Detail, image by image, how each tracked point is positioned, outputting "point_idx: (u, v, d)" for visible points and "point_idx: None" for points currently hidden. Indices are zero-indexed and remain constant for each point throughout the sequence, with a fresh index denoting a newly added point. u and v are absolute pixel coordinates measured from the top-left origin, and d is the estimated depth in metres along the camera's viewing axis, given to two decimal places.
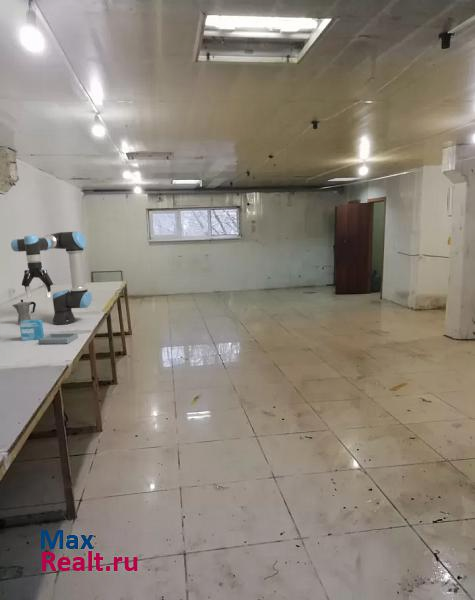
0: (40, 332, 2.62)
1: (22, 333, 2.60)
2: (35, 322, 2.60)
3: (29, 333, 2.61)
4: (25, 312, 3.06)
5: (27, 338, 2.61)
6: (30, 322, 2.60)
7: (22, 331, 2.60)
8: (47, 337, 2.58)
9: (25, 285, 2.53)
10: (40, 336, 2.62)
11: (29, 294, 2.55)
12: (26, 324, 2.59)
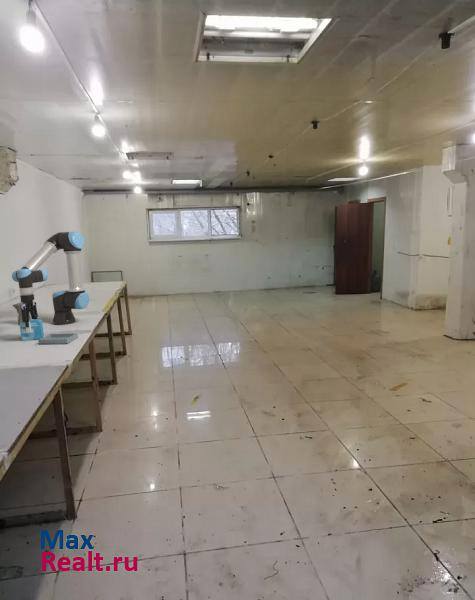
0: (40, 332, 2.62)
1: (22, 333, 2.60)
2: (35, 322, 2.60)
3: (28, 333, 2.61)
4: None
5: (27, 338, 2.61)
6: (30, 322, 2.60)
7: (22, 331, 2.60)
8: (47, 337, 2.58)
9: (32, 317, 2.66)
10: (40, 336, 2.62)
11: None
12: None
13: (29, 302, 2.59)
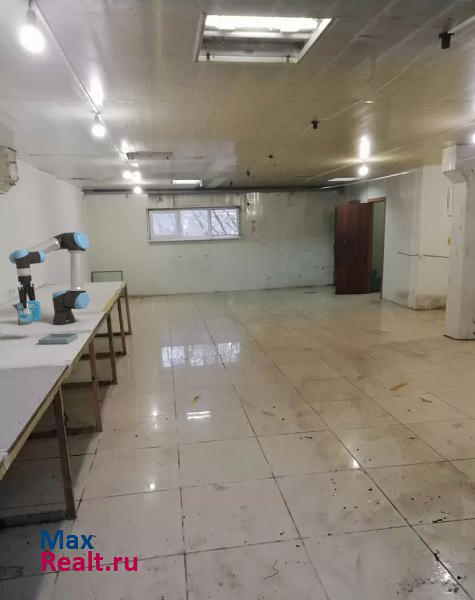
0: (38, 313, 2.60)
1: (20, 314, 2.58)
2: (33, 303, 2.58)
3: (26, 314, 2.59)
4: None
5: (25, 320, 2.59)
6: None
7: (20, 312, 2.58)
8: (47, 337, 2.58)
9: None
10: (38, 317, 2.60)
11: None
12: None
13: (26, 283, 2.57)
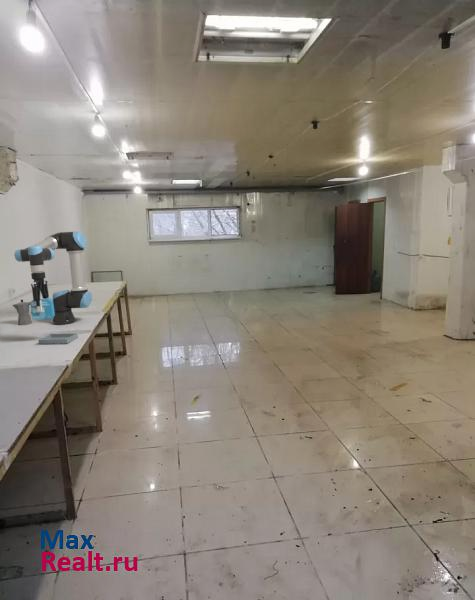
0: (51, 311, 2.55)
1: (33, 312, 2.53)
2: (46, 301, 2.53)
3: (39, 312, 2.54)
4: (25, 312, 3.06)
5: (38, 318, 2.54)
6: (41, 301, 2.53)
7: (33, 310, 2.53)
8: (47, 337, 2.58)
9: (43, 297, 2.59)
10: (51, 315, 2.55)
11: None
12: None
13: (40, 280, 2.52)
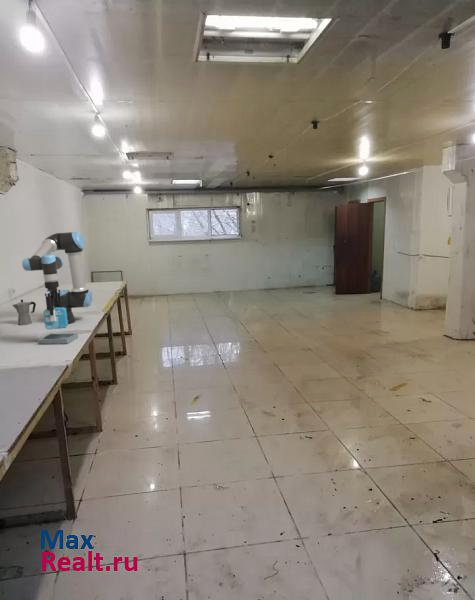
0: (64, 321, 2.52)
1: (46, 321, 2.51)
2: (59, 310, 2.51)
3: (53, 321, 2.51)
4: (25, 312, 3.06)
5: (51, 327, 2.52)
6: None
7: (46, 319, 2.51)
8: (47, 337, 2.58)
9: (55, 306, 2.56)
10: (64, 325, 2.53)
11: None
12: None
13: (53, 289, 2.50)
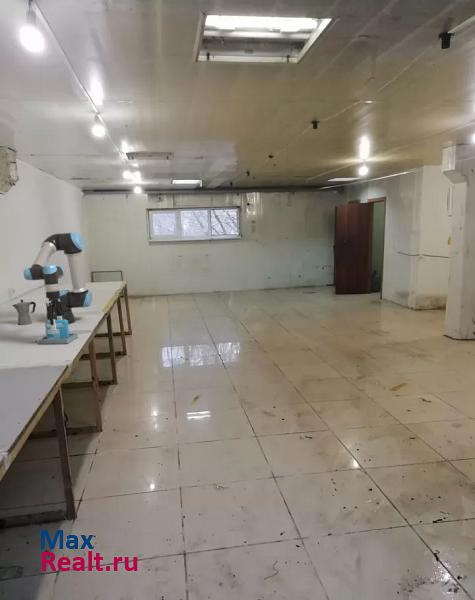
0: (66, 333, 2.54)
1: (48, 333, 2.52)
2: (61, 322, 2.52)
3: (54, 333, 2.53)
4: (25, 312, 3.06)
5: None
6: (56, 322, 2.52)
7: (48, 331, 2.52)
8: None
9: (57, 314, 2.58)
10: (66, 337, 2.54)
11: None
12: None
13: (55, 299, 2.51)
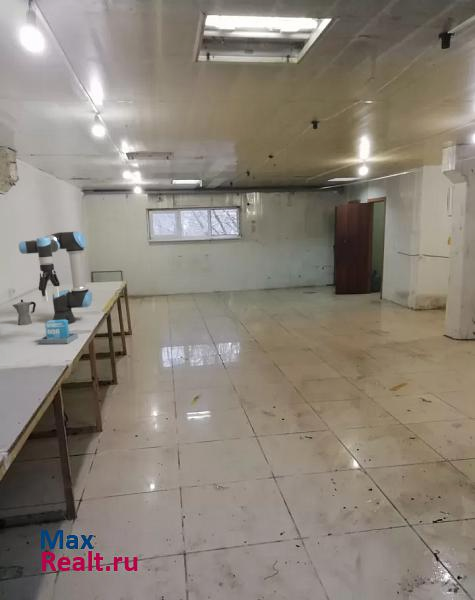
0: (66, 333, 2.54)
1: (48, 333, 2.52)
2: (61, 322, 2.52)
3: (54, 333, 2.53)
4: (25, 312, 3.06)
5: None
6: (56, 322, 2.52)
7: (48, 331, 2.52)
8: None
9: None
10: (66, 337, 2.54)
11: (56, 294, 2.60)
12: (51, 324, 2.52)
13: (49, 272, 2.51)
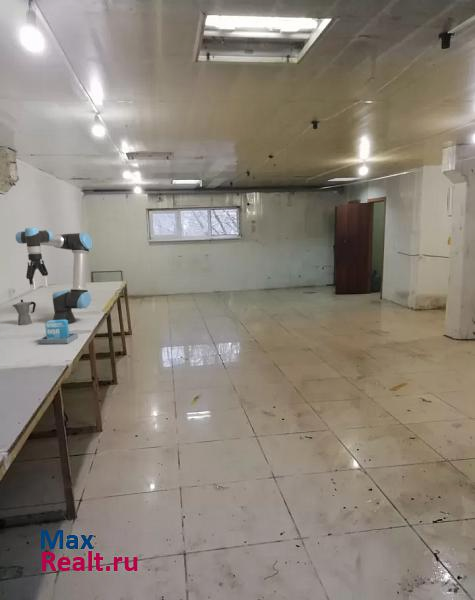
0: (66, 333, 2.54)
1: (48, 333, 2.52)
2: (61, 322, 2.52)
3: (54, 333, 2.53)
4: (25, 312, 3.06)
5: None
6: (56, 322, 2.52)
7: (48, 331, 2.52)
8: None
9: (42, 274, 2.68)
10: (66, 337, 2.54)
11: (44, 283, 2.68)
12: (51, 324, 2.52)
13: (37, 261, 2.58)
